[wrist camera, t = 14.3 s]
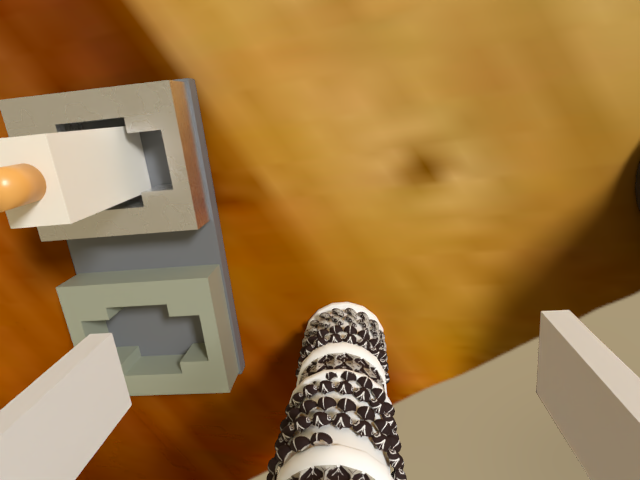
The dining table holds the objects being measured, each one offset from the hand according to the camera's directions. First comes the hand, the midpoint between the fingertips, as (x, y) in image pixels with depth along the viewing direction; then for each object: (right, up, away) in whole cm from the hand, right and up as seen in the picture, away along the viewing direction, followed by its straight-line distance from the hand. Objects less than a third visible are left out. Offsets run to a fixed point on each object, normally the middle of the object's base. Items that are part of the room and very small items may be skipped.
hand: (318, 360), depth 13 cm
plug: (-18, +11, +27) cm, 34 cm away
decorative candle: (+3, -7, +32) cm, 33 cm away
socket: (-19, +11, +27) cm, 34 cm away
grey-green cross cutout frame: (-17, -5, +32) cm, 36 cm away
